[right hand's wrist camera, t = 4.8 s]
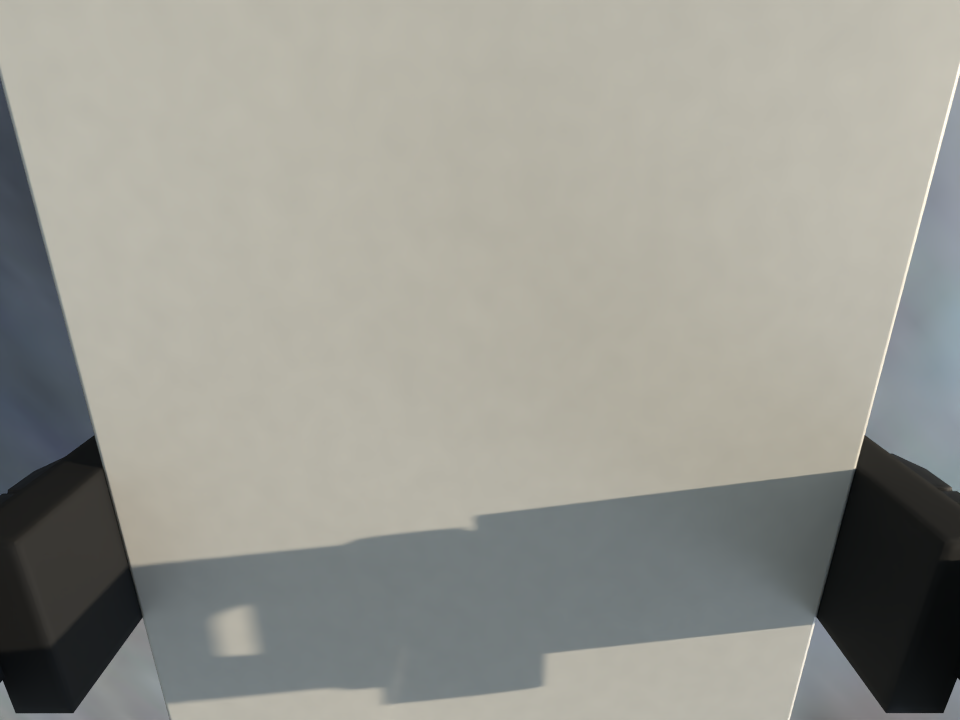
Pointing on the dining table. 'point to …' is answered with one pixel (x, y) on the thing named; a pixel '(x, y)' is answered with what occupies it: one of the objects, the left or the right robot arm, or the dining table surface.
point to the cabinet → (479, 332)
